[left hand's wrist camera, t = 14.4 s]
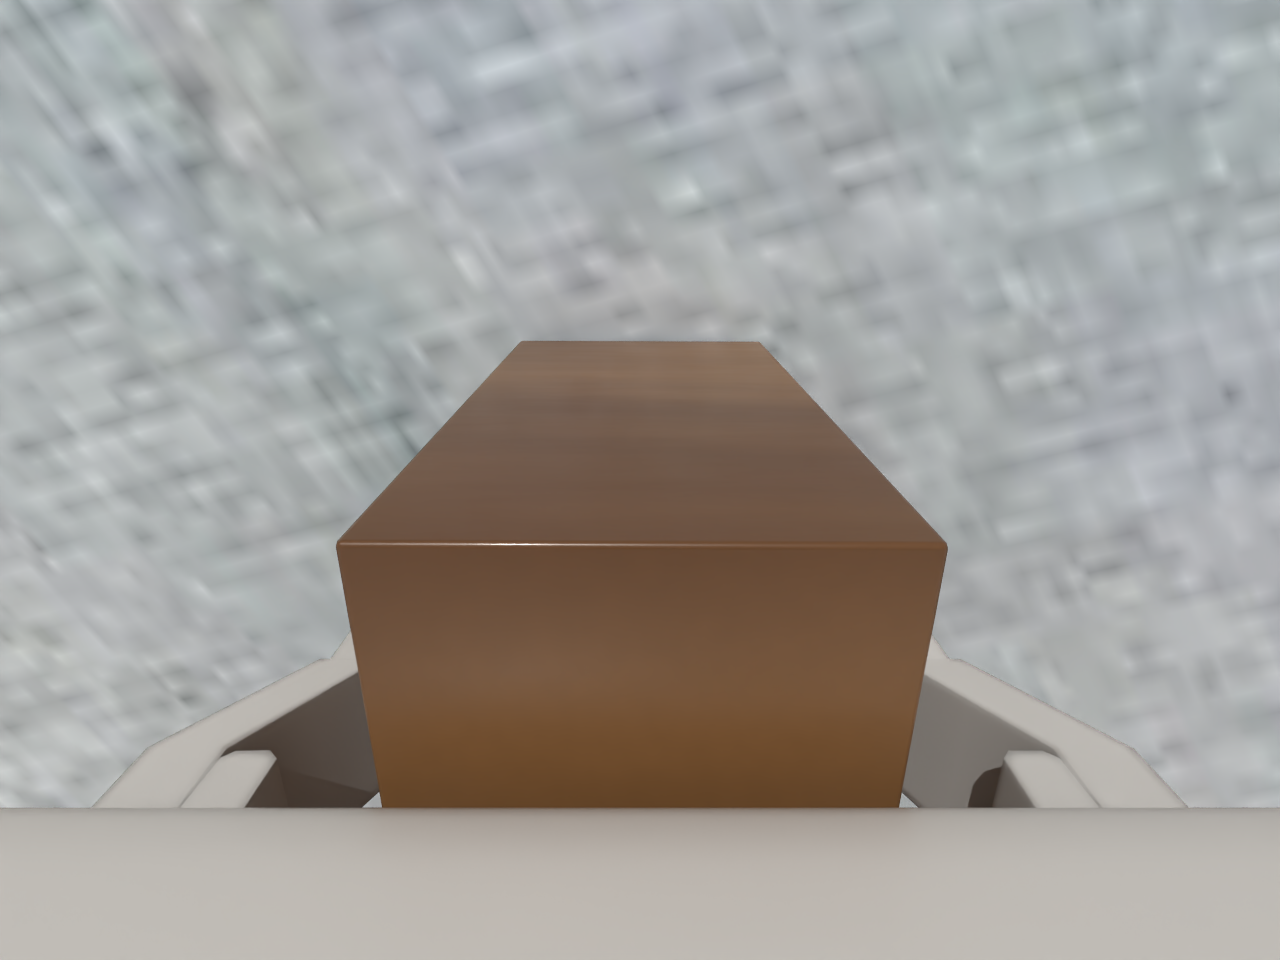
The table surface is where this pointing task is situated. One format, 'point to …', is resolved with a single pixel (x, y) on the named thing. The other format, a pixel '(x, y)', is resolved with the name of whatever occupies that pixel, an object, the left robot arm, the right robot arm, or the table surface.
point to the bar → (641, 593)
